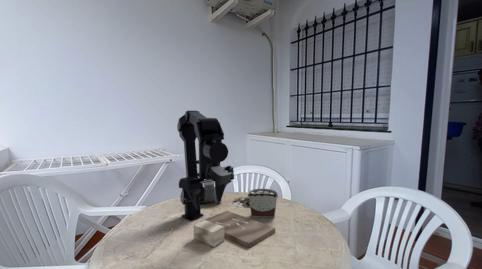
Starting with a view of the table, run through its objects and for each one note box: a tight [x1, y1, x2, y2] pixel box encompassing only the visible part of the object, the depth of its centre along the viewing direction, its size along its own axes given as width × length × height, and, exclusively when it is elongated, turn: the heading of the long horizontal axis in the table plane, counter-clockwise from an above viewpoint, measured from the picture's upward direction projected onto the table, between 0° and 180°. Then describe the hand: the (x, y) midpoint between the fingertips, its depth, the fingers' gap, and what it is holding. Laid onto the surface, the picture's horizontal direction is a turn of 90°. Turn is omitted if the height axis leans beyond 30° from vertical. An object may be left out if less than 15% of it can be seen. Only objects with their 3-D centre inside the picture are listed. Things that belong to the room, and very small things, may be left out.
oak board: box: [199, 210, 276, 249], centre depth 87 cm, size 24×14×2 cm, turn 48°
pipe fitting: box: [200, 181, 222, 204], centre depth 114 cm, size 12×8×10 cm
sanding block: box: [193, 219, 225, 249], centre depth 78 cm, size 9×5×5 cm, turn 52°
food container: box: [247, 188, 279, 218], centre depth 99 cm, size 12×6×10 cm, turn 84°
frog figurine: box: [232, 196, 250, 208], centre depth 113 cm, size 12×12×4 cm
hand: (208, 205), depth 78 cm, fingers open, 9 cm apart
